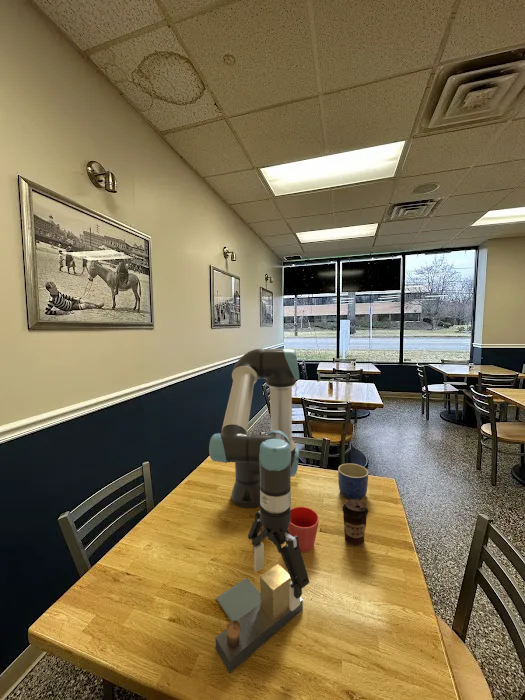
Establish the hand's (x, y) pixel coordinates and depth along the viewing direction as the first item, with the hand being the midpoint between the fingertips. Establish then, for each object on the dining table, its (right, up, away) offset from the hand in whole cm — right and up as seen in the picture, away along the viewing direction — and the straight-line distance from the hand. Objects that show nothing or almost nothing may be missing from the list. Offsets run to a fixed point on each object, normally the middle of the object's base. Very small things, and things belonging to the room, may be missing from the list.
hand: (275, 586), depth 72 cm
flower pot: (+10, -7, +25) cm, 28 cm away
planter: (+36, -4, +54) cm, 65 cm away
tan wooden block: (0, -5, +1) cm, 6 cm away
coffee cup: (+28, -6, +26) cm, 39 cm away
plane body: (-3, -9, -2) cm, 10 cm away
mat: (-9, -8, +5) cm, 13 cm away
